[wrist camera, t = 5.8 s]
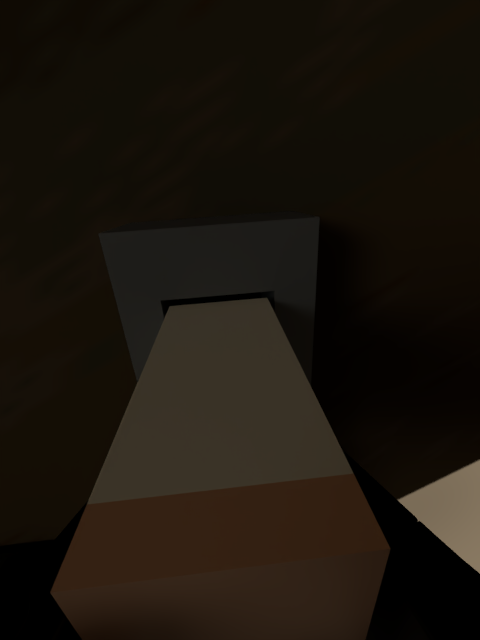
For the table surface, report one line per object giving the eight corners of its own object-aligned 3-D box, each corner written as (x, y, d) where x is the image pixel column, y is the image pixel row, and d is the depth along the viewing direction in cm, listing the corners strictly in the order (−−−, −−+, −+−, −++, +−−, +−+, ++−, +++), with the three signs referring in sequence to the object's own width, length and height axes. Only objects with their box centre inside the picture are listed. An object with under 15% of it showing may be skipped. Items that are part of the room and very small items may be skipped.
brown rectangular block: (186, 403, 13) (142, 727, 5) (169, 306, 11) (49, 592, 3) (269, 394, 14) (349, 696, 5) (267, 297, 12) (391, 549, 3)
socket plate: (191, 508, 23) (186, 568, 19) (129, 223, 14) (98, 233, 10) (288, 497, 23) (302, 553, 19) (292, 211, 14) (319, 216, 10)
